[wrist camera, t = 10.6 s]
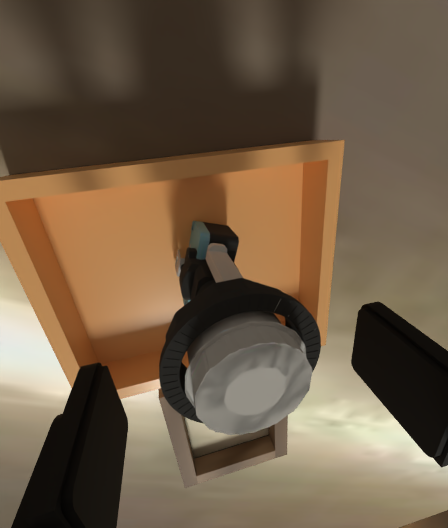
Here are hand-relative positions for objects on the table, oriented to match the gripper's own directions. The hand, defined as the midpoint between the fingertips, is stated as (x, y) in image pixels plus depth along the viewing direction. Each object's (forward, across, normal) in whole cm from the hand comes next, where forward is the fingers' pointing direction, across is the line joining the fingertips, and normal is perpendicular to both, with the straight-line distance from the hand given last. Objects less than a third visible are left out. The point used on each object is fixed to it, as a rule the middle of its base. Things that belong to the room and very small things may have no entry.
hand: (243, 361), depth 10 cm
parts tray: (+8, +1, 0) cm, 9 cm away
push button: (+8, +1, 0) cm, 8 cm away
